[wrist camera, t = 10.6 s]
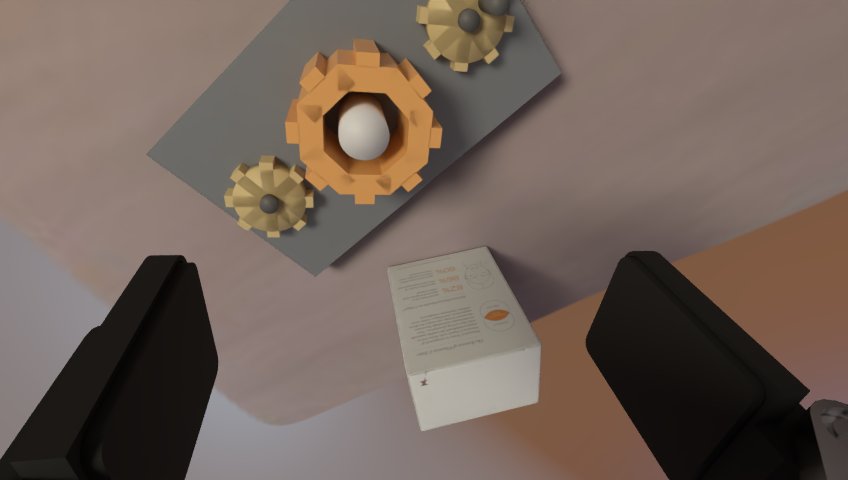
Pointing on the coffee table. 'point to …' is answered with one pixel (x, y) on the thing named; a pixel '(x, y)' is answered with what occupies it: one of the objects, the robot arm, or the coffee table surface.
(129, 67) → the coffee table surface
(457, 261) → the small box
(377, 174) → the gear
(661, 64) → the coffee table surface
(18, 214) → the coffee table surface
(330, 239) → the board
